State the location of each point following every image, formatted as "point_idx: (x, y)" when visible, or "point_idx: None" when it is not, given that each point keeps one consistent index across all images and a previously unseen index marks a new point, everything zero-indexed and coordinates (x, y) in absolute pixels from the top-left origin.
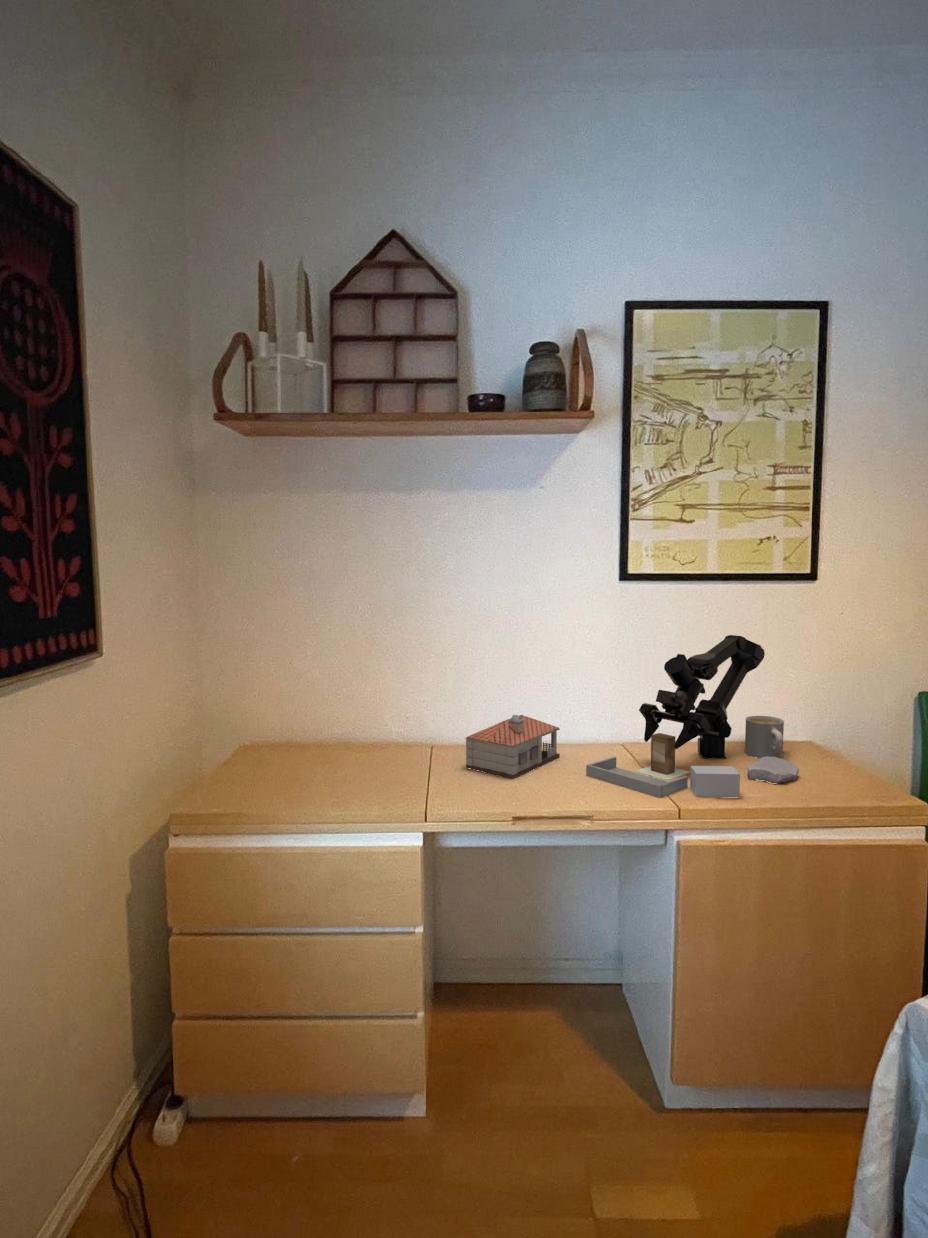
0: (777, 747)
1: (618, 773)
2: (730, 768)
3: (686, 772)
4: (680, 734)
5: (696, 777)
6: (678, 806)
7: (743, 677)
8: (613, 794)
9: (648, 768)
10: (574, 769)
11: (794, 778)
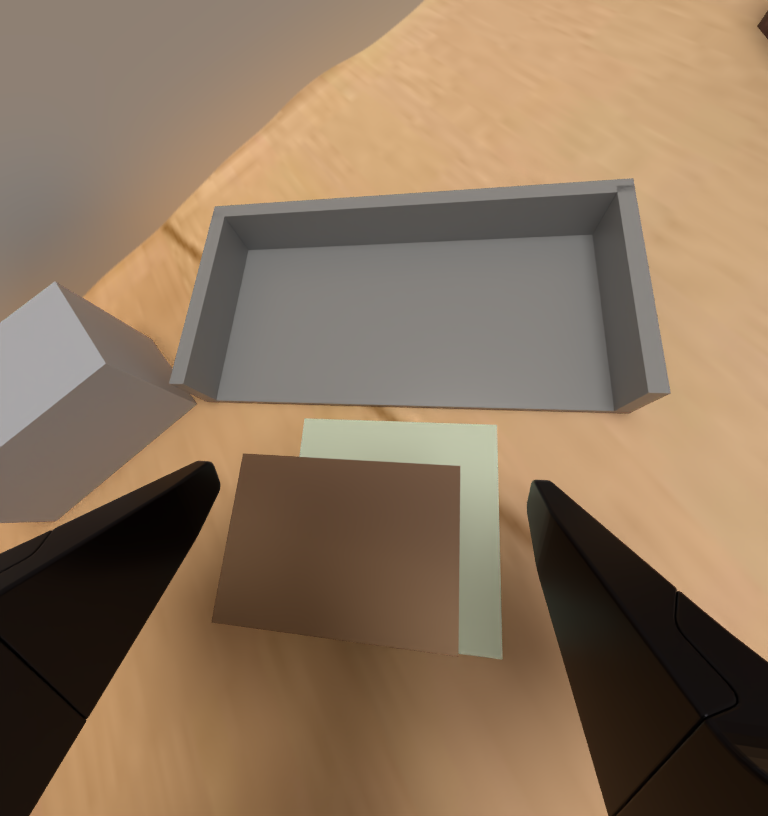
0: None
1: (430, 200)
2: None
3: None
4: (70, 541)
5: (73, 294)
6: (172, 237)
7: None
8: (383, 171)
9: (476, 514)
10: (731, 256)
11: None
